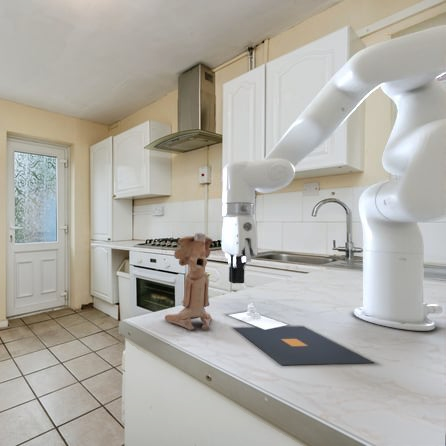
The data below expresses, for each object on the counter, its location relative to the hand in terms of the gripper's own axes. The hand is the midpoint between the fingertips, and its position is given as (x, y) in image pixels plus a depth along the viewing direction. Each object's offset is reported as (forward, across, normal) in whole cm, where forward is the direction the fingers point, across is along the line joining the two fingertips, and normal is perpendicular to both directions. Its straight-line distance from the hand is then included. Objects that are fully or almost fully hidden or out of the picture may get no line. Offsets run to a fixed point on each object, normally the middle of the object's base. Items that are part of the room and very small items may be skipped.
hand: (236, 282), depth 70 cm
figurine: (+7, -10, +15) cm, 20 cm away
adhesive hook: (+7, -8, -1) cm, 11 cm away
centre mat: (+7, -20, -1) cm, 21 cm away
